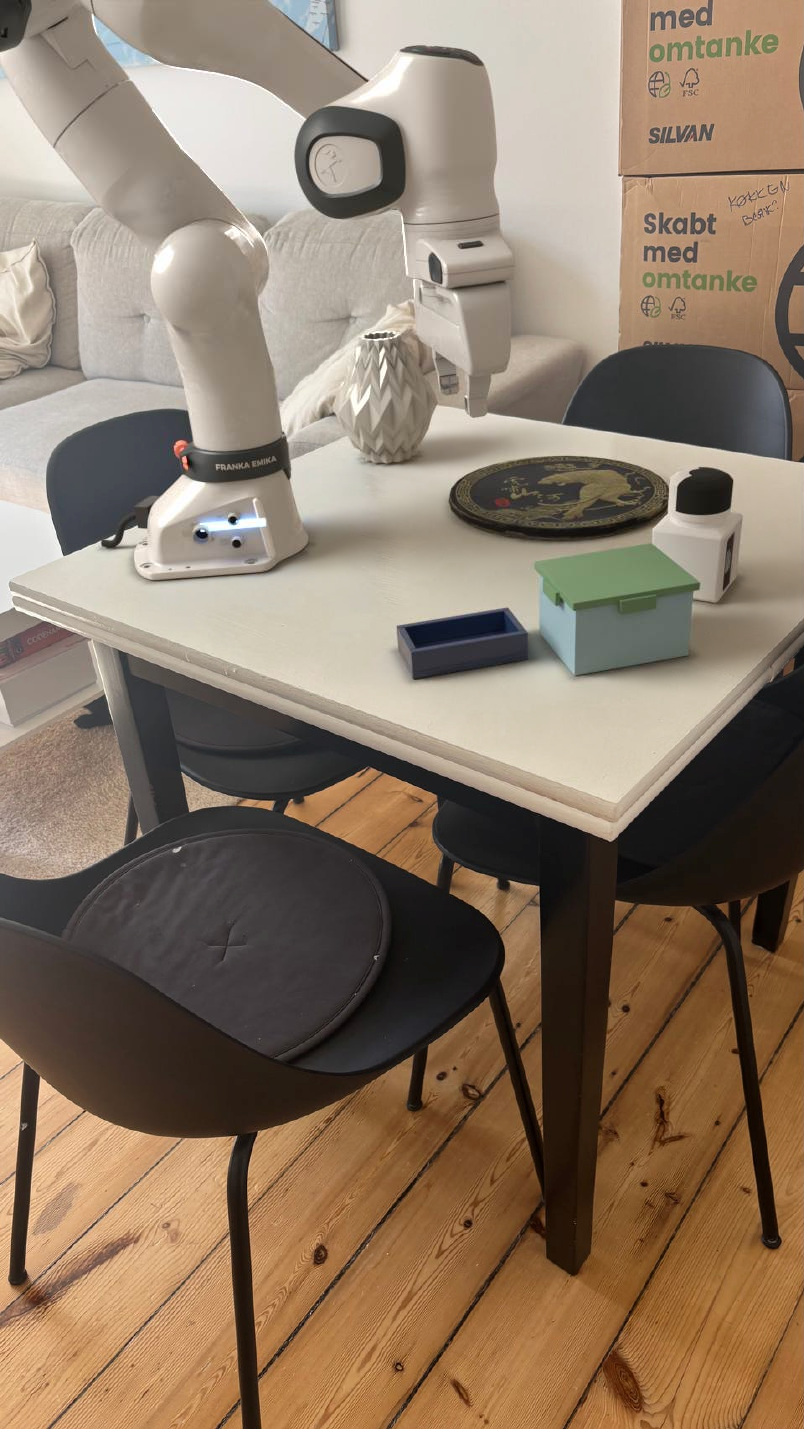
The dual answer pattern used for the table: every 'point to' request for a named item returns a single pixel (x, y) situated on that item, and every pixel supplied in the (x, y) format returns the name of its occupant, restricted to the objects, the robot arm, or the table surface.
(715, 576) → the container
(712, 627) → the table surface
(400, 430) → the vase
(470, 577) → the table surface
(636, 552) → the box
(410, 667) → the low blue storage tray
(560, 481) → the decorative plate
